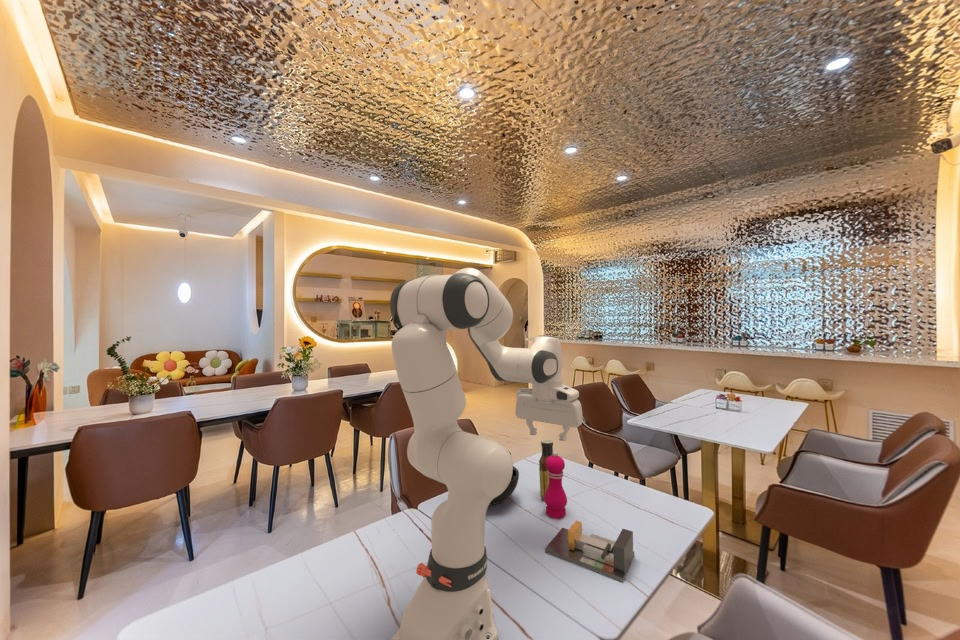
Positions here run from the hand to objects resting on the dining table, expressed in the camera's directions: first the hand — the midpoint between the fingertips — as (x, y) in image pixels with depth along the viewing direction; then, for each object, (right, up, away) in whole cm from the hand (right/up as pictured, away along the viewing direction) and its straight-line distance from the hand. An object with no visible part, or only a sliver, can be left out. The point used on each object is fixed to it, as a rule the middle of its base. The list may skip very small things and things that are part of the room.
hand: (547, 437), depth 107 cm
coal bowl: (-16, -28, +18) cm, 37 cm away
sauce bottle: (+4, -28, +20) cm, 34 cm away
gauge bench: (+9, -27, -10) cm, 31 cm away
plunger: (+9, -26, -12) cm, 30 cm away
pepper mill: (+4, -28, +10) cm, 30 cm away
